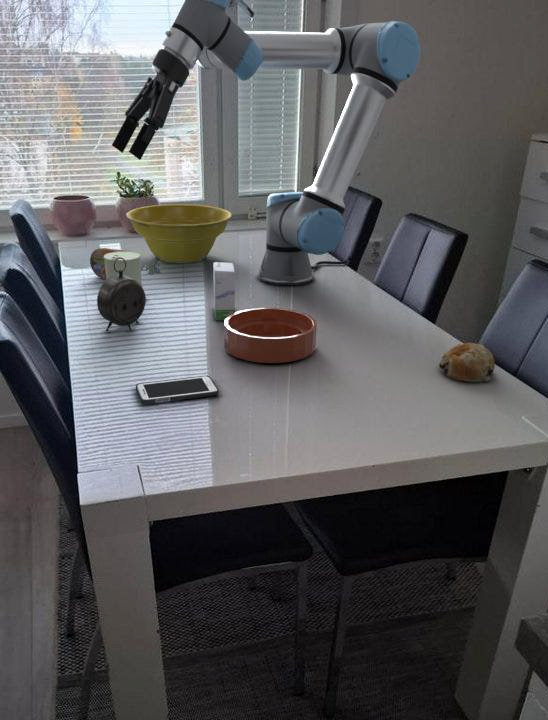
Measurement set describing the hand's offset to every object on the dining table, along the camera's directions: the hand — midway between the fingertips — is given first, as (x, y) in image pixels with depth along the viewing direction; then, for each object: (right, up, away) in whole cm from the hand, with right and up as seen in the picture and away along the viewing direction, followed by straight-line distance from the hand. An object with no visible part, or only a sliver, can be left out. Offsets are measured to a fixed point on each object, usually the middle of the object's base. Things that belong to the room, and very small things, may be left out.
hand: (125, 152), depth 144 cm
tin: (-11, -14, +45) cm, 49 cm away
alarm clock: (-2, -36, +10) cm, 38 cm away
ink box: (+21, -31, +19) cm, 42 cm away
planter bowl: (+6, -1, +65) cm, 66 cm away
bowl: (+31, -43, 0) cm, 53 cm away
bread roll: (+70, -50, -11) cm, 87 cm away
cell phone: (+13, -55, -19) cm, 60 cm away
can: (-5, -25, +28) cm, 38 cm away
